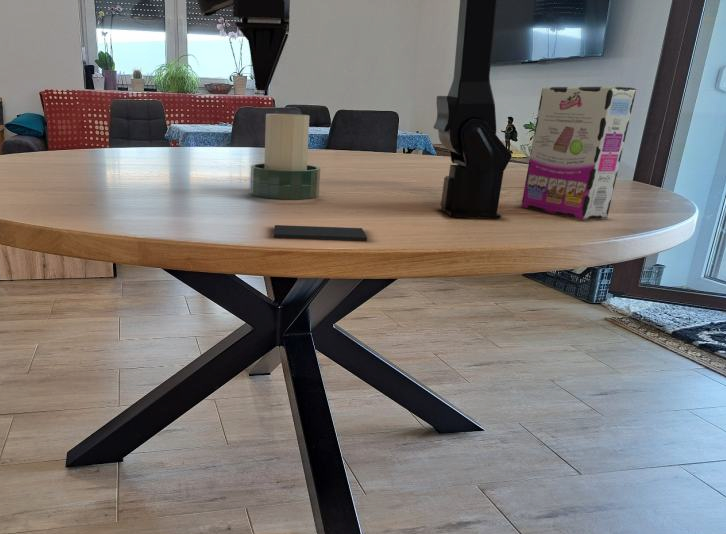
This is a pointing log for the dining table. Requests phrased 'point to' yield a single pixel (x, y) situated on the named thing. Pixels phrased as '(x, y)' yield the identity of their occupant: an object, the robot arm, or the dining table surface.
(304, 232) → the mat
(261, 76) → the robot arm
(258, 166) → the bowl
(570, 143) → the candy bar box
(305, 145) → the cup
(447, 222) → the dining table surface
